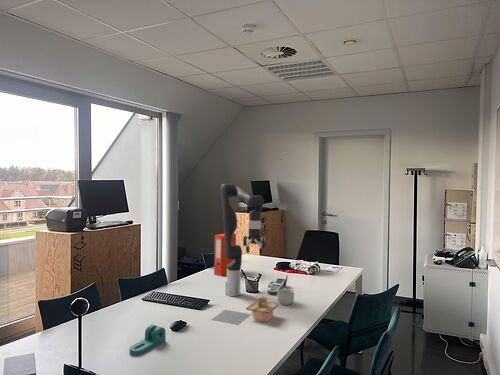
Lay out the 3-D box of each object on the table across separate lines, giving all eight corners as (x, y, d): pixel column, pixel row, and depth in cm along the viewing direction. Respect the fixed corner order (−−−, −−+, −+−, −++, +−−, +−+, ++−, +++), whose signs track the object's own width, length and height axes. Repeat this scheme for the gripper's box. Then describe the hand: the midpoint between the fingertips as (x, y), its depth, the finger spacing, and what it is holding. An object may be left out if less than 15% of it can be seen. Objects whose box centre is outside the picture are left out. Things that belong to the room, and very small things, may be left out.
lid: (245, 309, 205) (246, 299, 204) (255, 301, 217) (255, 292, 217) (269, 313, 199) (269, 303, 199) (278, 305, 212) (278, 295, 212)
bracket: (155, 338, 181) (155, 322, 181) (165, 341, 178) (165, 325, 178) (126, 353, 166) (126, 336, 166) (136, 357, 162) (136, 339, 162)
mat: (210, 320, 204) (210, 319, 204) (225, 310, 220) (225, 309, 220) (238, 325, 197) (238, 325, 197) (251, 314, 213) (251, 314, 213)
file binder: (235, 272, 307) (235, 233, 306) (221, 276, 293) (221, 236, 292) (228, 270, 312) (228, 232, 310) (214, 274, 298) (214, 235, 297)
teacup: (293, 307, 226) (293, 294, 226) (275, 305, 228) (275, 292, 228) (295, 299, 240) (295, 287, 240) (278, 298, 242) (278, 286, 242)
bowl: (249, 319, 206) (249, 309, 205) (257, 313, 216) (257, 303, 215) (267, 323, 201) (268, 312, 201) (274, 316, 211) (274, 305, 211)
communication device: (262, 294, 251) (262, 282, 250) (272, 284, 273) (272, 273, 273) (279, 297, 246) (279, 284, 246) (288, 286, 269) (288, 274, 268)
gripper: (241, 227, 228) (241, 253, 228) (263, 229, 222) (262, 255, 223) (246, 226, 235) (246, 251, 235) (267, 227, 229) (267, 253, 230)
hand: (254, 253), depth 229 cm, fingers open, 8 cm apart
